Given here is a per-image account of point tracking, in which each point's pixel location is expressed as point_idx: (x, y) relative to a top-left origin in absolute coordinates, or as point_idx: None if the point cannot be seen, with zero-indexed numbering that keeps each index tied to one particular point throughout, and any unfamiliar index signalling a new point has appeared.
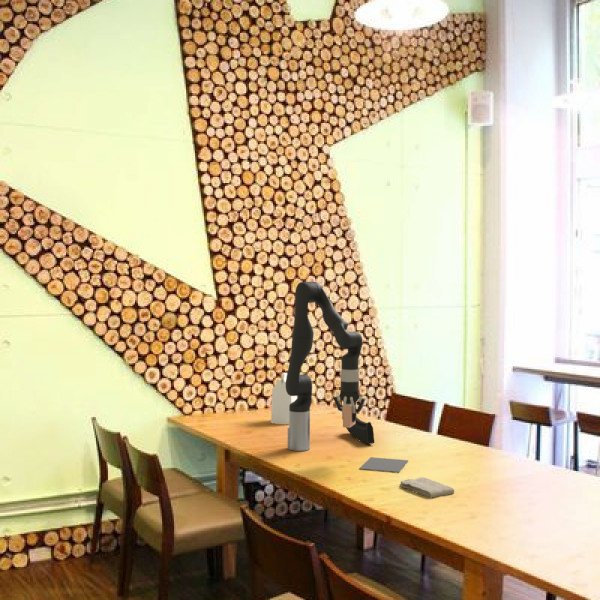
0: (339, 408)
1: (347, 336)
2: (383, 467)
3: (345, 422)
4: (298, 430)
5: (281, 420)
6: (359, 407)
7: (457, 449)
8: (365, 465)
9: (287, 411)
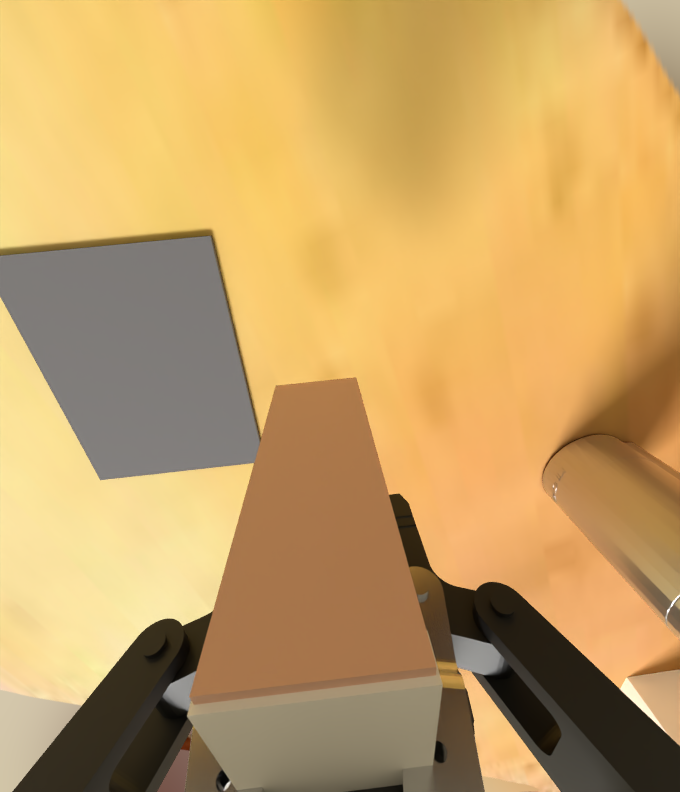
0: (505, 621)
1: None
2: (110, 314)
3: (329, 406)
4: (671, 501)
5: (667, 686)
6: (102, 725)
7: (68, 654)
8: (212, 314)
9: (676, 726)
